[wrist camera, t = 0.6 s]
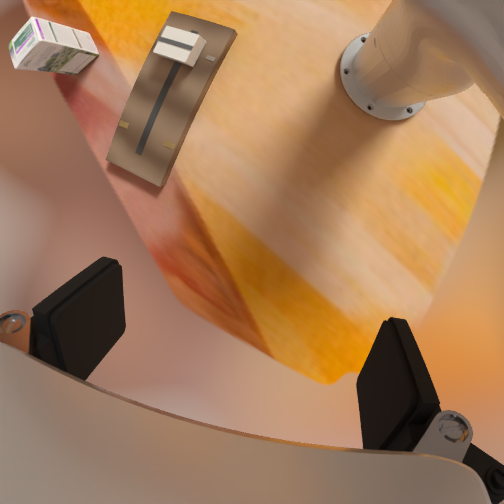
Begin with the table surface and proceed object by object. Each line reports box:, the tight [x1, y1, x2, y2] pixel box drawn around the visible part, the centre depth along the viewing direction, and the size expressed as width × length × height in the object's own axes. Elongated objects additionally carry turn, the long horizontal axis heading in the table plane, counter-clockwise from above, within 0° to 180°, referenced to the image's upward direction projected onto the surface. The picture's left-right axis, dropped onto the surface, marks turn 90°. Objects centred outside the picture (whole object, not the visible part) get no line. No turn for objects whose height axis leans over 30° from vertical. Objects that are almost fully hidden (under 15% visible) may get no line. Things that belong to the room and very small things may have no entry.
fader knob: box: [153, 26, 207, 67], centre depth 32 cm, size 4×5×3 cm
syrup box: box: [9, 17, 99, 75], centre depth 31 cm, size 6×6×14 cm
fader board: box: [106, 12, 237, 187], centre depth 38 cm, size 24×10×2 cm, turn 154°
